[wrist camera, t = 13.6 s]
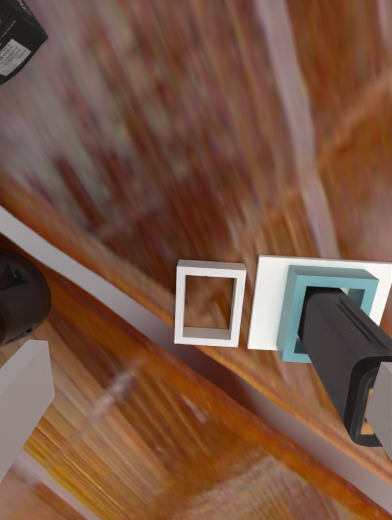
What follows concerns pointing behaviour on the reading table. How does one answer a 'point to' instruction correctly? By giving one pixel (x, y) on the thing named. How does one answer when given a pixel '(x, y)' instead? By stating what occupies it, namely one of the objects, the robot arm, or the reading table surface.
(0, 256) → the robot arm
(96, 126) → the reading table surface
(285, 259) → the dock
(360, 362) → the electronic device
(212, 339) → the white rectangular frame
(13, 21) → the router box
